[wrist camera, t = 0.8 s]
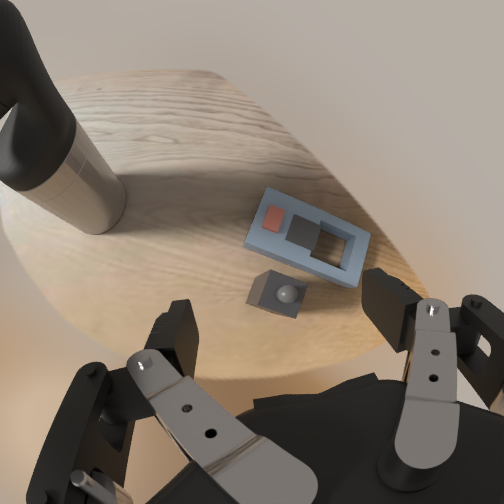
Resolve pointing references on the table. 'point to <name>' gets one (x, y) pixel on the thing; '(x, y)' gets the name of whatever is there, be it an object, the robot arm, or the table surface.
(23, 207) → the table surface
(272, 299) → the black plug
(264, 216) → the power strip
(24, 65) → the robot arm
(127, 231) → the table surface
